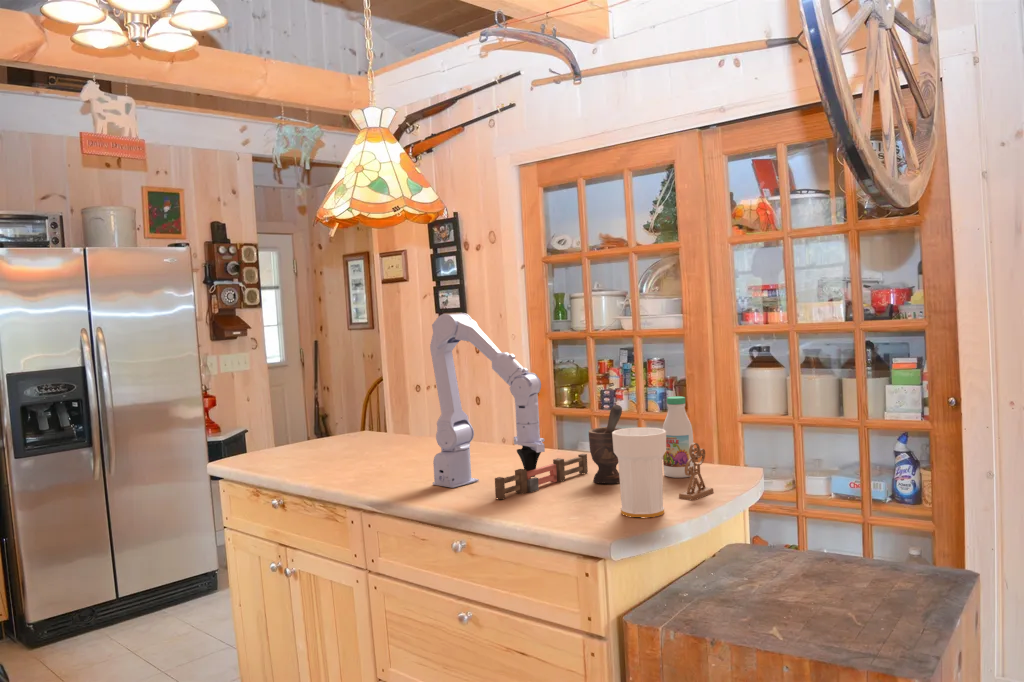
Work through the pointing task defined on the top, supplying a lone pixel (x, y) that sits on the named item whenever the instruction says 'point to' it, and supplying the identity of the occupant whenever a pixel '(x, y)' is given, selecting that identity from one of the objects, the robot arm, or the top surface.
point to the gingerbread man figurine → (692, 491)
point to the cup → (640, 469)
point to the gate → (549, 478)
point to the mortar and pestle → (605, 449)
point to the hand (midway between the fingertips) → (530, 476)
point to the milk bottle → (677, 438)
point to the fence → (532, 484)
